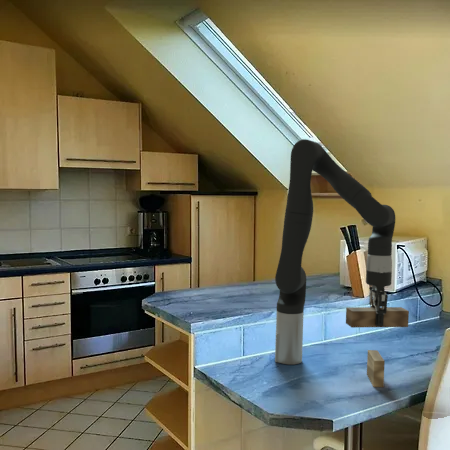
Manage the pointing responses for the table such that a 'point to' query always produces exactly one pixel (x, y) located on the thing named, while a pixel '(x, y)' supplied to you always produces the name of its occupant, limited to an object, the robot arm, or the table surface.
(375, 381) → the fulcrum
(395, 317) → the batten
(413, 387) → the table surface
